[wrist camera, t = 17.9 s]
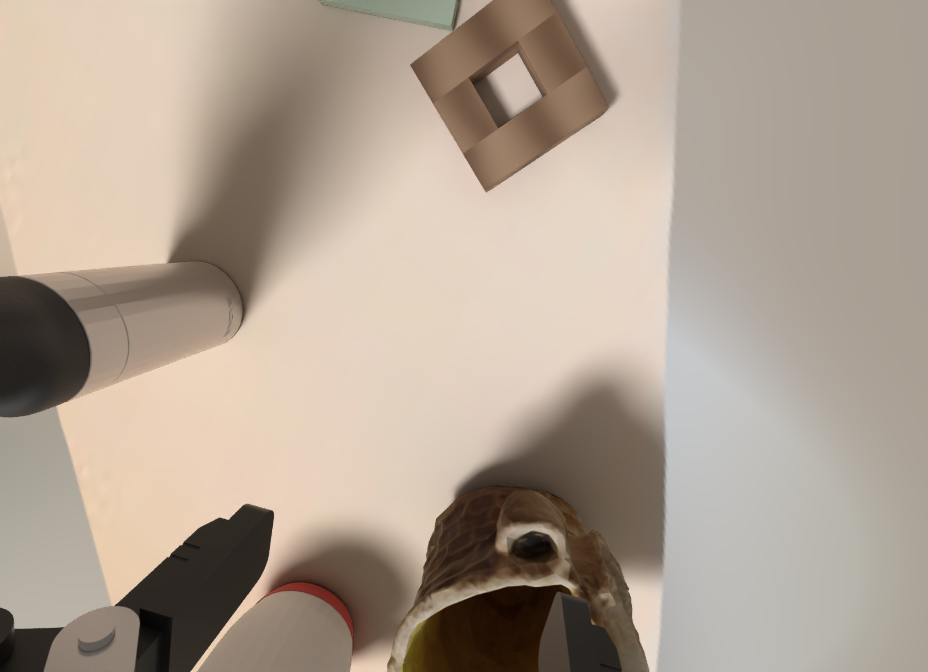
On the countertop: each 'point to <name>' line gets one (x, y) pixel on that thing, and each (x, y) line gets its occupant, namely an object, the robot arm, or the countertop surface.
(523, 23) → the socket base
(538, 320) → the countertop surface
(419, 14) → the mat
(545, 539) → the ceramic vessel
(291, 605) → the citrus juicer
